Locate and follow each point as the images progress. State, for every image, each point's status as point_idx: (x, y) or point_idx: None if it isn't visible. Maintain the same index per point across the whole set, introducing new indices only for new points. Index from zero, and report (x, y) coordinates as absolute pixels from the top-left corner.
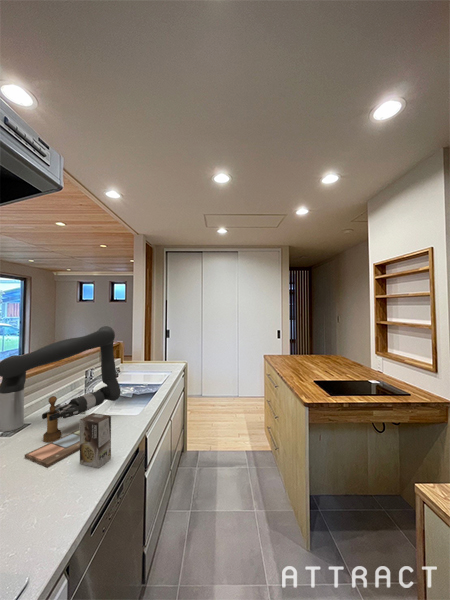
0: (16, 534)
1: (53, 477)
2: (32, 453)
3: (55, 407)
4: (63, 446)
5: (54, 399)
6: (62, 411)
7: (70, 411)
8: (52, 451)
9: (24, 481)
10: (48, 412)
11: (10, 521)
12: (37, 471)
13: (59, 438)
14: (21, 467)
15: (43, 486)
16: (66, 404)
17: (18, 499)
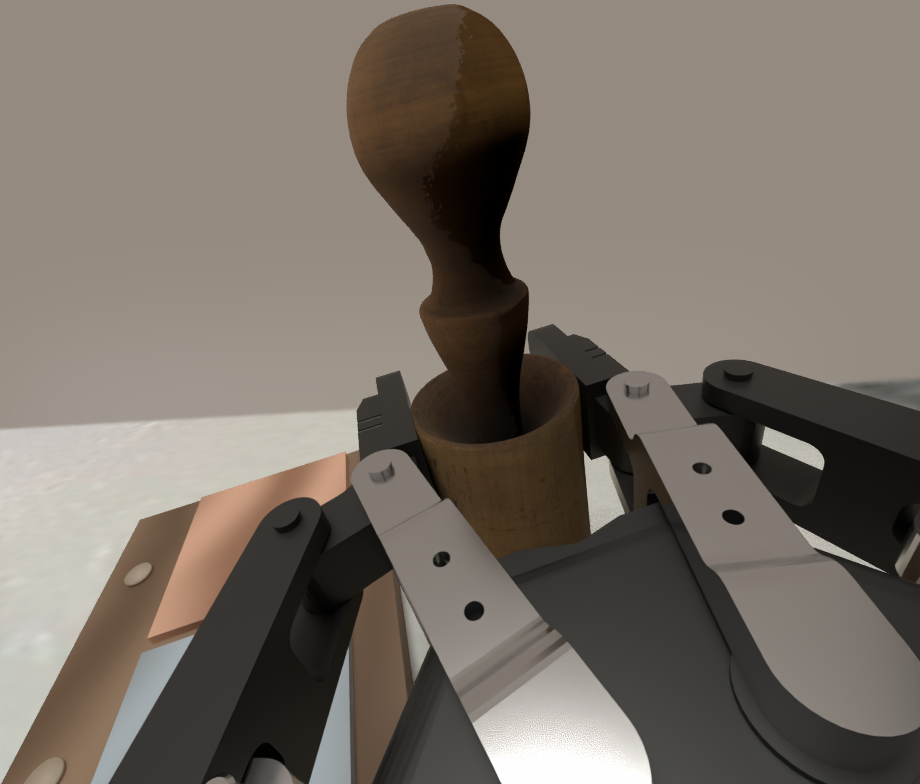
0: (4, 442)
1: (49, 541)
2: (331, 467)
3: (438, 332)
4: (184, 640)
5: (349, 116)
6: (374, 501)
7: (191, 651)
8: (216, 555)
9: (182, 456)
10: (550, 358)
11: (61, 432)
12: (184, 495)
13: (400, 669)
14: (300, 450)
15: (59, 503)
16: (831, 651)
17: (113, 444)
